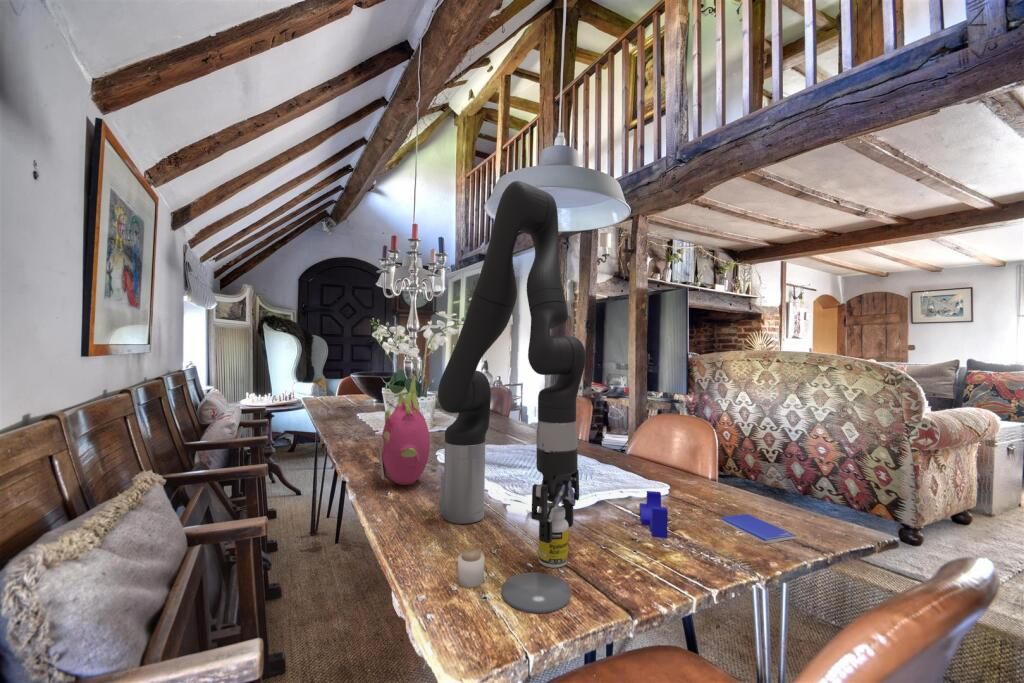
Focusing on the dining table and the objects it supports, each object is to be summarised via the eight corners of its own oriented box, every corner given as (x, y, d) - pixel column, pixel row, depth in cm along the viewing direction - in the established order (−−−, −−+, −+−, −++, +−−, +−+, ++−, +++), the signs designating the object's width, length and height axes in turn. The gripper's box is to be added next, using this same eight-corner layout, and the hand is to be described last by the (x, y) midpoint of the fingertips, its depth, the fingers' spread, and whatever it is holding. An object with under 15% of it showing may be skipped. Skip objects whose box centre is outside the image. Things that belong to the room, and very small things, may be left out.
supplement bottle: (548, 571, 82) (549, 515, 82) (532, 558, 87) (533, 505, 87) (573, 565, 85) (574, 510, 85) (557, 552, 89) (558, 501, 89)
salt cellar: (452, 582, 78) (452, 553, 78) (469, 571, 82) (469, 544, 82) (472, 590, 76) (473, 561, 75) (489, 579, 79) (489, 550, 79)
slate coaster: (488, 597, 73) (488, 593, 73) (525, 569, 83) (525, 566, 83) (549, 622, 67) (549, 617, 67) (582, 588, 76) (582, 585, 76)
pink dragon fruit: (377, 476, 136) (379, 373, 136) (425, 473, 140) (426, 373, 140) (379, 496, 119) (381, 379, 119) (433, 492, 123) (435, 378, 123)
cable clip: (639, 515, 109) (640, 490, 109) (659, 517, 109) (660, 491, 109) (644, 537, 98) (645, 508, 98) (667, 539, 97) (667, 510, 97)
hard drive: (796, 534, 97) (748, 513, 109) (765, 538, 95) (720, 516, 106) (796, 542, 97) (748, 520, 109) (765, 546, 95) (720, 523, 106)
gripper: (556, 436, 94) (556, 517, 94) (519, 449, 82) (518, 542, 82) (591, 440, 90) (591, 525, 90) (557, 455, 78) (557, 553, 78)
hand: (556, 533), depth 86 cm, fingers open, 8 cm apart
